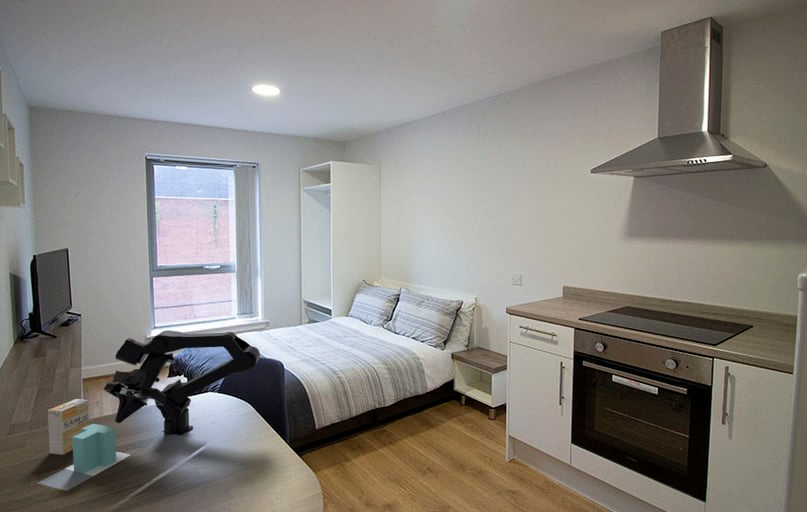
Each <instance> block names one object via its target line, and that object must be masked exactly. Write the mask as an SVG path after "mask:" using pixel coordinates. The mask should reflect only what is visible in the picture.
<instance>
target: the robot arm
mask: <svg viewBox="0 0 807 512" xmlns="http://www.w3.org/2000/svg"><path fill="white" fill-rule="evenodd" d="M201 348H202V349H203V348H204V349H205V348H224V349H225V350H226V351H227V353H228V354H229V355H230V356H231V358H230V359H229V360H227V361H226V362H223V363H222V364H220V365H218V366H216V367H213V368H212V369H210V370H208V371H206V372H204V373H201V374H200V375H198V376H196V377H194V378H192V379H190V380H188V381H185V382H182V380H181V378H179V379H177V380H176V381H175V382H172V383H168V384H167V385H166V386H165V387H164V388H163V389H162V390H160V389H158V388H156V387H153V386H154V384H155V383H159V382H160V380H161V379H160V378H159V376H160V374H161V372H162V371H163V369H164V368H165V367H166V364H167V363H170V364H172V365H174V364H175V357H174V353H173V352H176V351H180V350H184V349H201ZM260 356H261V352H260V351H259V349H258V348H257V347H255V346H253V345H250V344H249V343H248V342H247V341H245V340H244V339H242V338H241V337H239V336H238V335H237V334H235V333H234V332H232V331H227V332H208V333H206V332H205V333H184V332H181V331H178V330H177V331H176V330H168V329H167V330H163V331H161V332H160V333H158V334H157V335H155V336H153V338H152V339H151V340H150V341H149V342H147V343H146V344H145V343H143V342H139V341H136V340H135V339H133V338H130V337H128V338H127V339H125V341H124V343H123V344H122V345H121V346H120V348H119V349H118V350H117V352H116V353H115V360H118V361H119V362H120V361H121V362H123V363H126V364H128V365H130V366H131V365H132V366H134V367H135V366H137V365H138V364H139V365H140V366H139V368H135V369H133V370H132V371H131V372H128V371H121V370H120V371H119V370H115V373H114V376H113V378H112V381H110V382H107V383H106V385H105V386H104V387H103V388H102V390H103V391H105V392H106V393H108V394H110V395H112V397H115V398H116V399H118V400H119V401H118V402H119V403H118V408H117V411H116V416H115V421H114V422H115V423H116V424H121V423H122V422H124V421H125V420H126V419H127V418H129V417H130V416H131V415H134V413H136V412H137V411H140V409H142V408H143V407H147V406H148V403H147V402H148V400H149V399H150V400H154V404H155V407H156V408H157V409H158V410H160V414H161V416H162V417H163V419H164V420H163V428H164V429H163V431H161V432H162V433H164V435H168V436H172V435H176V436H182V435H184V434H185V433H187V432H189V431H191V430H192V429H194V426H193V425H190V416H189V415H190V413H189V408H188V407H190V405H191V402H192V400H191V398H189V397H190V396H191V395H193V394H195V393H197V392H199V391H201V390H203V389H205V388H207V387H210V386H211V385H213V384H215V383H217V382H219V381H221V380H222V379H225V378H226V377H229V376H230V375H233V374H240V373H244V372H246V371H249V370H252V369H254V368H255V366H256V364H257V363H258V361H259V360H260Z"/></svg>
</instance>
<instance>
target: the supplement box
mask: <svg viewBox="0 0 807 512" xmlns="http://www.w3.org/2000/svg"><path fill="white" fill-rule="evenodd" d="M47 418H48V419H47V421H48V422H47V423H48V442H49V443H48V444H49V454H55V455H61V456H63V455H66V454H67V453H70V452H71V451H73V439H72V437H73V436H76V435H78V434H80V433H82V428H84V427H86V426H89V425H90V423H89V419H90V418H89V400H88V399H82V398H81V399H79V398H74V399H73V400H69V401H67V402H65V403H62V404H59V405H57V406H55V407H52V408H49V409H48V410H47Z"/></svg>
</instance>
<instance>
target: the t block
mask: <svg viewBox="0 0 807 512" xmlns="http://www.w3.org/2000/svg"><path fill="white" fill-rule="evenodd" d="M72 439H73V450H72V456H73V457H72V458H73V459H72V460H73V464H74V471H76V472H80V473H86V472H88V471H89V470H91V469H93V468H95V467H97V466H99V465H101V466H105V467H106V466H108V465H110V464H111V463H113V462H115V461H116V452H117V443H116V441H117V440H116V427H112V426H106V425H103V424H102V425H101V424H97V423H90V424H89V426H86V427H84V428H82V433H80V434H78V435H76V436H73V437H72Z"/></svg>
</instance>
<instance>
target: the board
mask: <svg viewBox="0 0 807 512" xmlns="http://www.w3.org/2000/svg"><path fill="white" fill-rule="evenodd" d="M130 456H131V454H128V453H124V452H121V451H116V461H115V462H113V463H111V464H110V465H108V466H106V467H105V466H101V465H99V466H97V467H95V468H93V469H91V470H89V471H88V472H86V473H80V472H76V471H74V463H73V464H71V465H69V466H67V467H65V468H63V469H62V470H60V471H58V472H56V473H53V475H50V476H48V477H46V478H44V479H42V480H41V481H39V482H37V484H40V485H43V486H46V487H51V488H54V489H57V490H62V491H64V492H65V491H66V492H68V491H69V490H72V489H73V488H75V487H76V486H78V485H80V484H82V483H84V482H85V481H87V480H89V479H91V478H93V477H94V476H96V475H98V474H99V473H101V472H103V471H105V470H107V469H108V468H110V467H112V466H114V465H116V464H118V463H119V462H121V461H123V460H125V459H126V458H128V457H130Z"/></svg>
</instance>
